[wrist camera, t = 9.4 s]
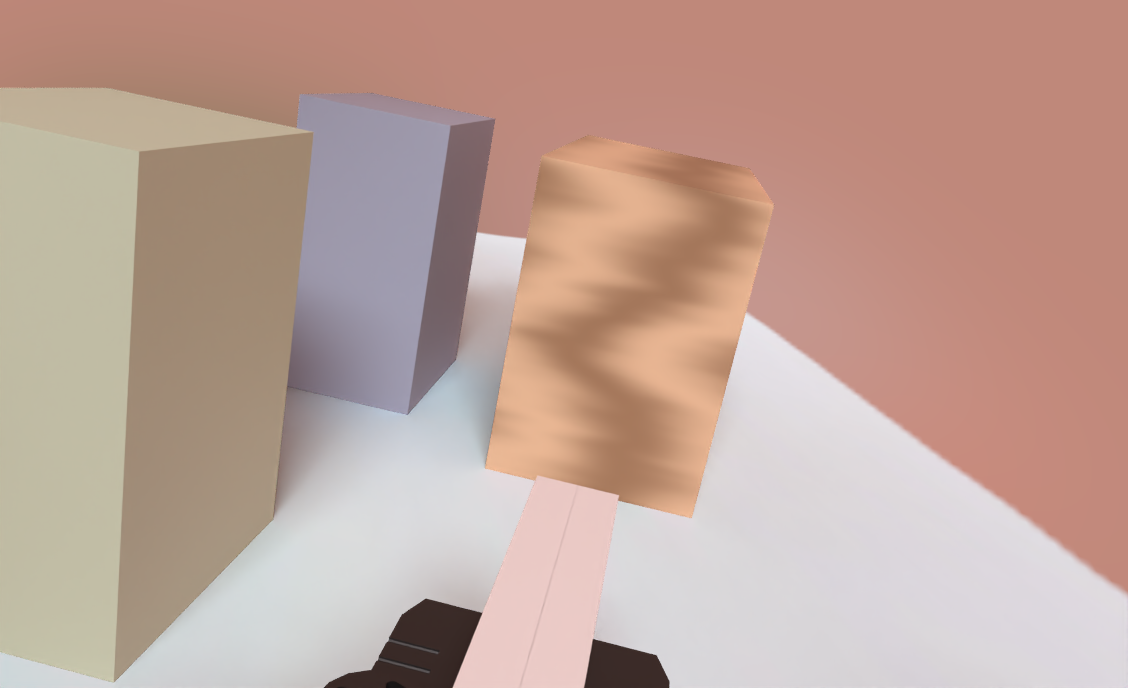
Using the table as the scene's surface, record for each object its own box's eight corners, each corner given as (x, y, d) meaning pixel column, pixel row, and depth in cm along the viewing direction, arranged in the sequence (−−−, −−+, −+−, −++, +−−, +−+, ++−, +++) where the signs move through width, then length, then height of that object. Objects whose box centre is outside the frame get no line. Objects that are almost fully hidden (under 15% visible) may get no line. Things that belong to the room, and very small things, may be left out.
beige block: (-129, 617, 21) (-155, 87, 17) (93, 474, 28) (107, 87, 25) (113, 682, 20) (139, 151, 17) (272, 519, 28) (313, 132, 24)
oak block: (484, 470, 34) (541, 156, 30) (544, 362, 47) (588, 135, 44) (691, 519, 33) (773, 204, 30) (692, 396, 47) (749, 168, 43)
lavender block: (271, 382, 38) (299, 94, 34) (342, 333, 45) (371, 93, 42) (407, 415, 37) (450, 125, 34) (455, 359, 45) (495, 118, 41)
